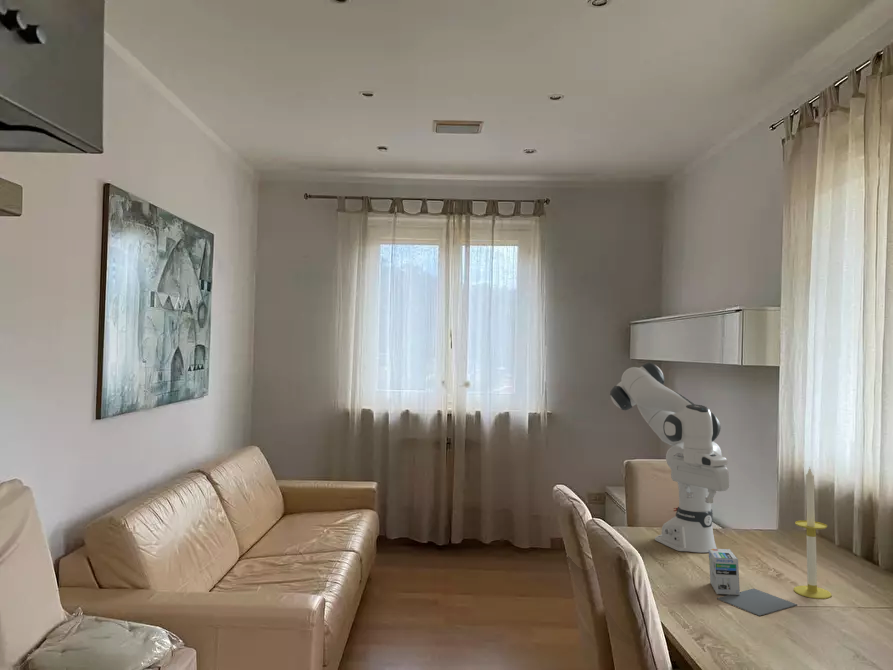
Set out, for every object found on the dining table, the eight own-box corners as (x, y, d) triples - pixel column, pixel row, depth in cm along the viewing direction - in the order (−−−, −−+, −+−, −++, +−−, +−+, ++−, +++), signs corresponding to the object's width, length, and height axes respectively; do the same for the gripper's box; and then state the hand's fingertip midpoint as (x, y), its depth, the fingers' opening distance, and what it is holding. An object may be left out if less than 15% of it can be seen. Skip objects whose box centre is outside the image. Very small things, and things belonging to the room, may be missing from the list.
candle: (836, 600, 187) (833, 470, 188) (797, 597, 190) (794, 468, 191) (826, 588, 196) (824, 464, 197) (790, 585, 199) (787, 463, 200)
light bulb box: (740, 595, 190) (739, 558, 191) (716, 594, 191) (714, 557, 192) (732, 583, 200) (730, 548, 201) (709, 582, 202) (707, 547, 202)
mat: (717, 599, 189) (717, 597, 189) (753, 589, 196) (753, 588, 196) (759, 616, 176) (759, 615, 176) (797, 605, 184) (797, 604, 184)
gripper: (666, 452, 213) (666, 495, 212) (717, 462, 194) (718, 508, 194) (680, 451, 216) (680, 492, 215) (732, 460, 197) (732, 505, 197)
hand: (699, 500), depth 205 cm, fingers open, 6 cm apart
